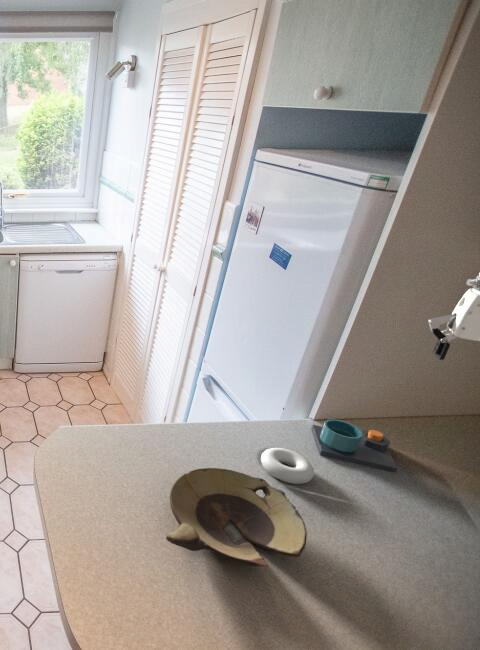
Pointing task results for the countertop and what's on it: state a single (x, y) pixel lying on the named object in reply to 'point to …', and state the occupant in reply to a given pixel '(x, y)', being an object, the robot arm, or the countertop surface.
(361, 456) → the scale
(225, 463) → the countertop surface
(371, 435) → the tare button
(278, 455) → the donut
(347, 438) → the small bowl
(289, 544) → the broken ceramic bowl
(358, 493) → the countertop surface
